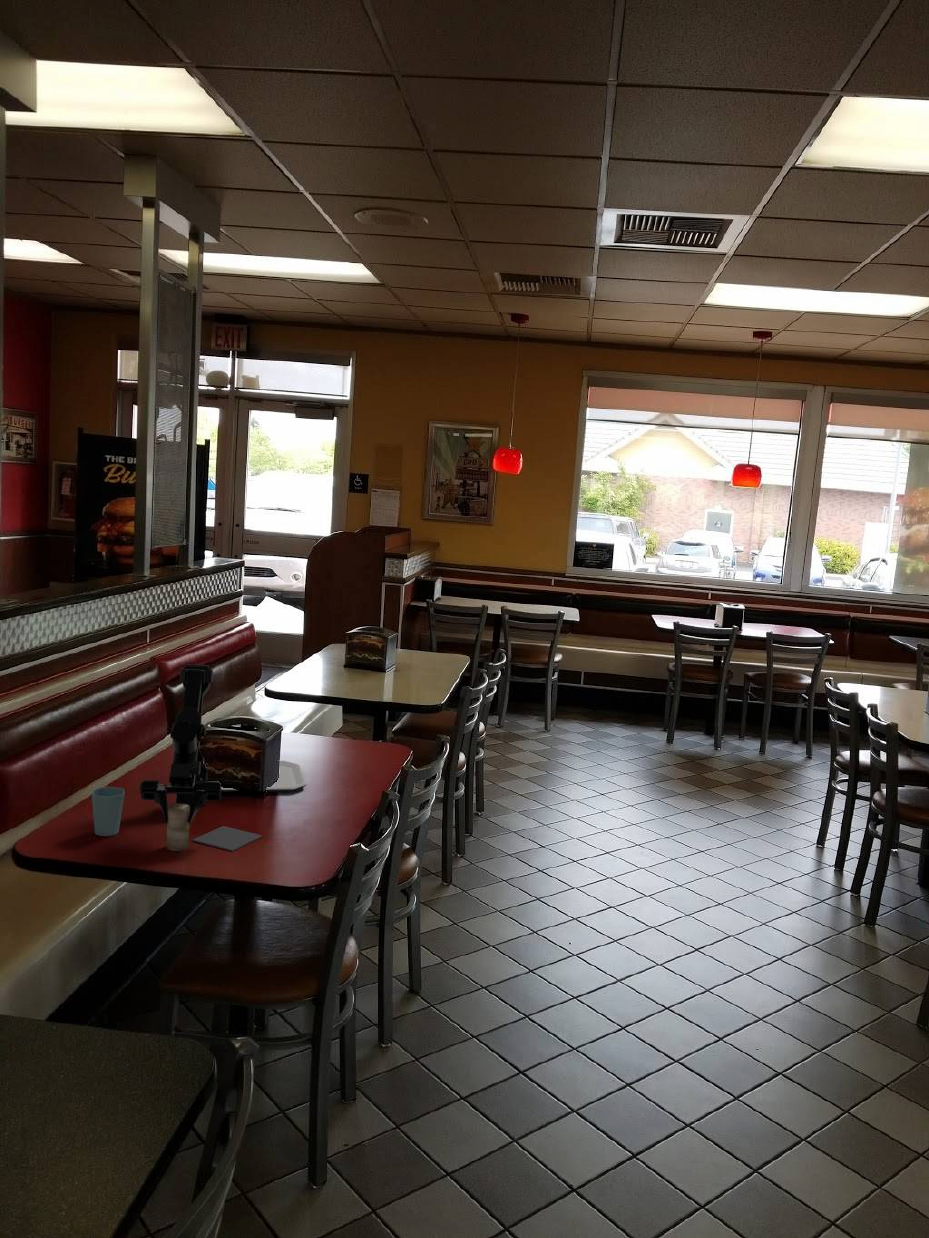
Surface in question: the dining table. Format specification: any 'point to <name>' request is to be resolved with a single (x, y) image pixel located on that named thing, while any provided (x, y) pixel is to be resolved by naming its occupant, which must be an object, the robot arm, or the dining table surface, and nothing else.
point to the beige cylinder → (178, 827)
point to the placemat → (227, 838)
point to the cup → (107, 810)
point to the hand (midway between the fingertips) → (177, 822)
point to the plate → (284, 779)
